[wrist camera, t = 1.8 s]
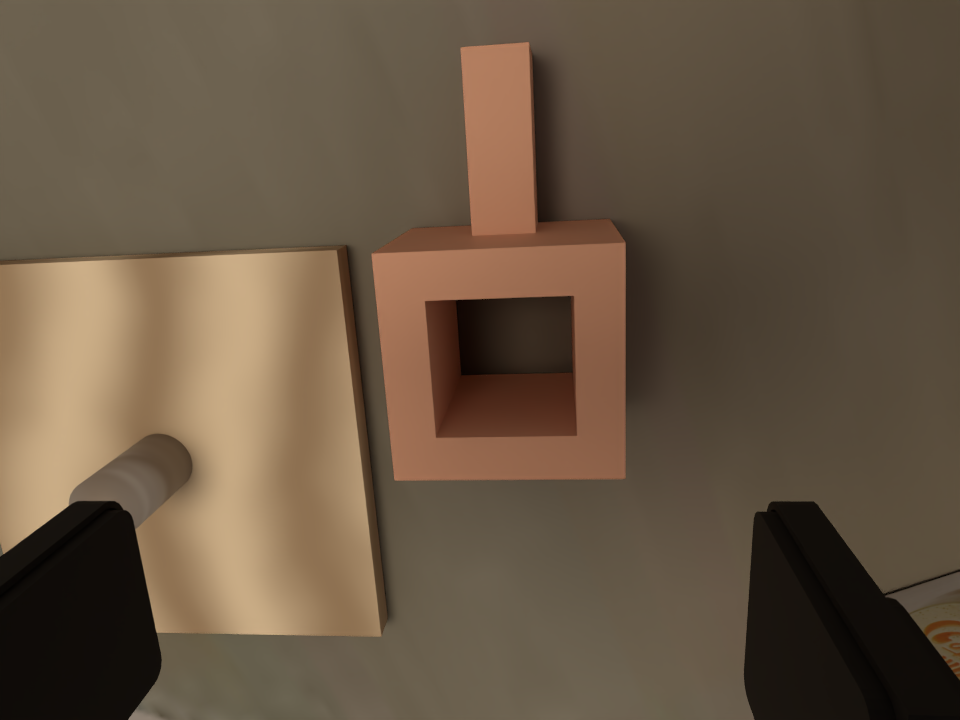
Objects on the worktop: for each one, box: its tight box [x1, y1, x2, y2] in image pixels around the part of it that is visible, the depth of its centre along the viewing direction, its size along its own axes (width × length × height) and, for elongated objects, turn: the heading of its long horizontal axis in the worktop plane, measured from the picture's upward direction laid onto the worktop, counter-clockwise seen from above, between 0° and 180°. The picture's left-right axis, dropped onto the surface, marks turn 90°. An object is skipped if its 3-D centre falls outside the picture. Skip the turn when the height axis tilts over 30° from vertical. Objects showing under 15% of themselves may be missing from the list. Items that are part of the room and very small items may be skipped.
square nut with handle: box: [372, 42, 626, 481], centre depth 23 cm, size 12×7×6 cm, turn 3°
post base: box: [0, 245, 388, 637], centre depth 27 cm, size 16×16×5 cm
